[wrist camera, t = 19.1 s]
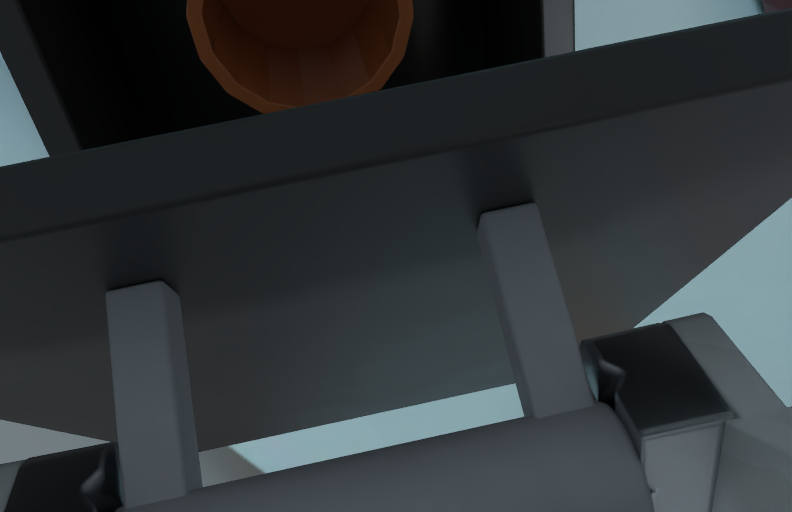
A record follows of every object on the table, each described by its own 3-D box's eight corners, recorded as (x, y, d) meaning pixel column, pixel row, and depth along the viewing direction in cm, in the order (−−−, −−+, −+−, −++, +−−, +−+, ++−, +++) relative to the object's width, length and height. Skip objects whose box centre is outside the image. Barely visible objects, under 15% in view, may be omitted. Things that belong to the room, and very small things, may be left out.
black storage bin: (7, -194, 21) (-106, -169, 15) (480, -280, 22) (573, -294, 15) (196, 293, 31) (179, 434, 25) (514, 226, 32) (578, 347, 25)
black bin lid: (-439, 250, 7) (-542, 887, 5) (957, -30, 7) (1236, 477, 6) (176, 432, 25) (194, 593, 23) (579, 345, 25) (624, 496, 24)
